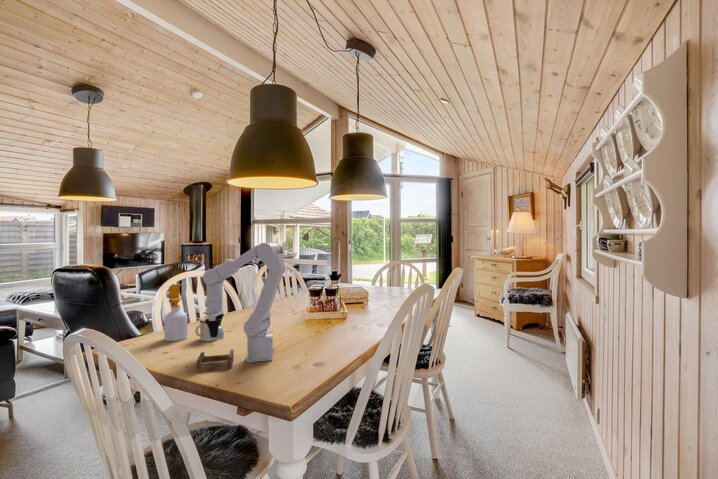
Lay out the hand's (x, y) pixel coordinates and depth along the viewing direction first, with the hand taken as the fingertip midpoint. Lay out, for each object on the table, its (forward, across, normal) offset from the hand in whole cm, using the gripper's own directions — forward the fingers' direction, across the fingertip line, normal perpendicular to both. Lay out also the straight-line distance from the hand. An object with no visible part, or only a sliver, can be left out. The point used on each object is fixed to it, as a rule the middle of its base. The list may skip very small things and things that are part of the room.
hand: (215, 335), depth 133 cm
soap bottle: (+8, -27, -20) cm, 35 cm away
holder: (+8, +12, +2) cm, 14 cm away
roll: (+2, 0, 0) cm, 2 cm away
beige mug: (+8, -22, -6) cm, 24 cm away
